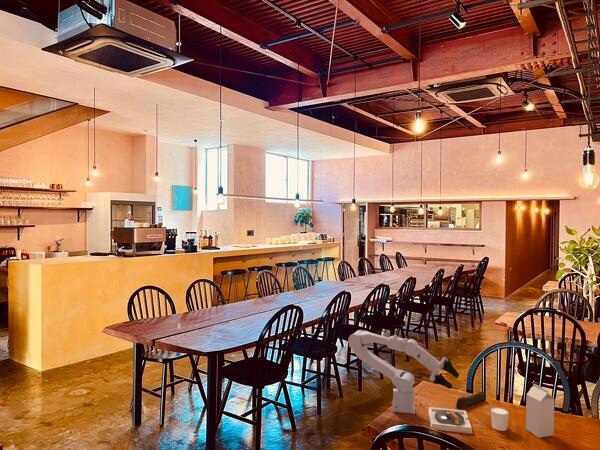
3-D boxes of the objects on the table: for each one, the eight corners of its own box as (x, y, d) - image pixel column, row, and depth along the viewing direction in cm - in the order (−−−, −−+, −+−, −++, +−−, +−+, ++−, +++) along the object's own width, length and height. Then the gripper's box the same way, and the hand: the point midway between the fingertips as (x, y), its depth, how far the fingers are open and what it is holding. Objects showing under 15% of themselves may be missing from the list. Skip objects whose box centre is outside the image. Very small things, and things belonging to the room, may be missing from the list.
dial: (429, 412, 193) (430, 404, 193) (455, 411, 194) (455, 402, 194) (442, 426, 180) (443, 417, 180) (470, 425, 182) (470, 416, 182)
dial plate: (431, 429, 182) (431, 423, 181) (428, 411, 197) (428, 406, 197) (472, 433, 178) (472, 427, 178) (466, 415, 194) (466, 410, 194)
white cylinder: (509, 426, 185) (509, 409, 184) (507, 433, 179) (508, 416, 178) (491, 421, 188) (491, 405, 188) (489, 428, 182) (489, 412, 182)
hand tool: (479, 398, 212) (479, 389, 212) (486, 401, 208) (486, 392, 208) (451, 407, 202) (451, 397, 202) (458, 410, 199) (458, 400, 199)
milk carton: (539, 438, 175) (540, 391, 174) (525, 429, 182) (526, 384, 181) (553, 435, 177) (554, 389, 176) (539, 427, 184) (540, 382, 183)
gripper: (424, 365, 186) (452, 388, 182) (438, 346, 196) (465, 366, 191) (418, 374, 191) (445, 396, 186) (431, 354, 201) (457, 375, 196)
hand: (454, 381), depth 189 cm, fingers open, 7 cm apart
